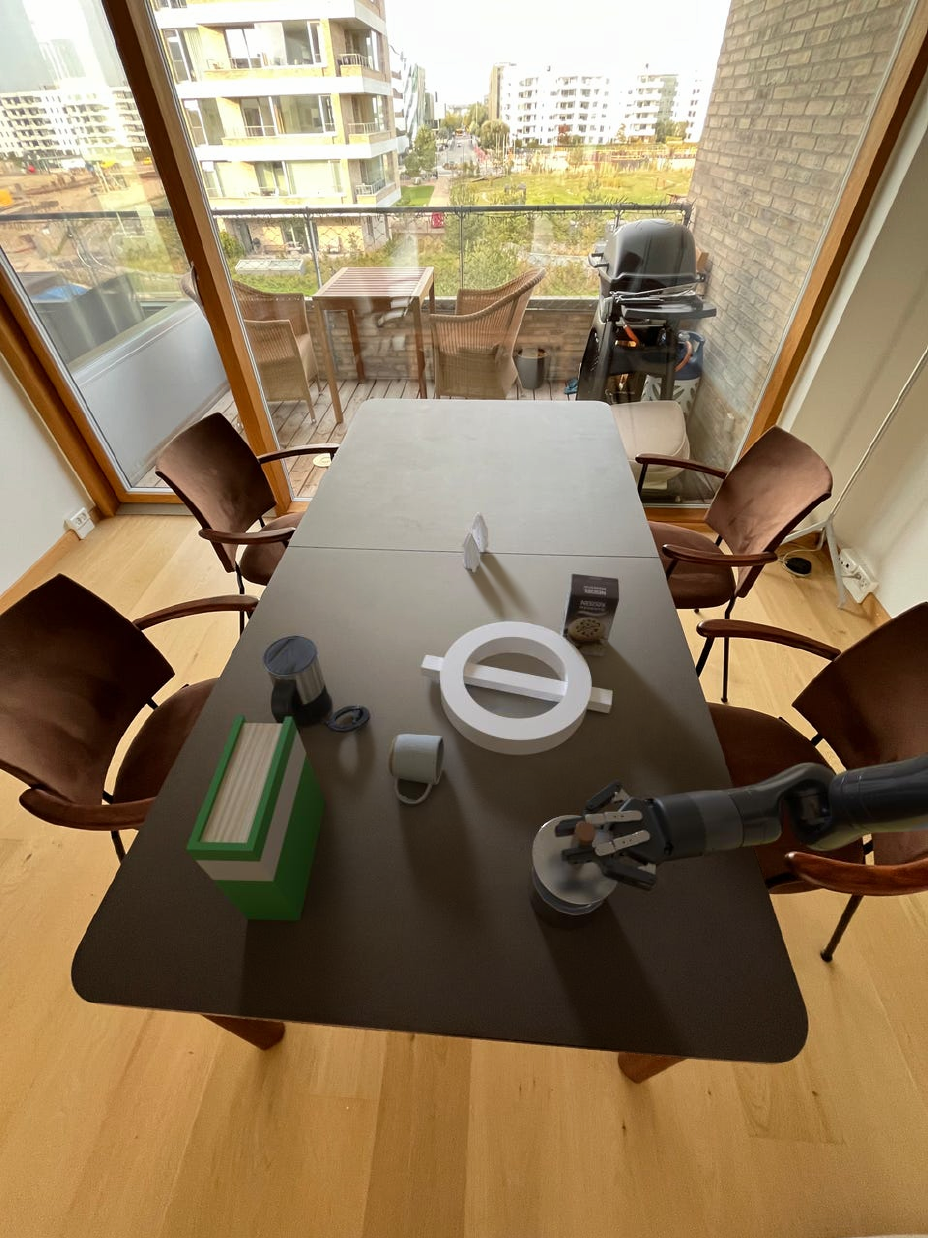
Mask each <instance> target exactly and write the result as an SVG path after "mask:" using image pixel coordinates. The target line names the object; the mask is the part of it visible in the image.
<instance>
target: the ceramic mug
mask: <svg viewBox="0 0 928 1238" xmlns="http://www.w3.org/2000/svg"><path fill="white" fill-rule="evenodd" d="M443 738H444V737H442V736H440V735H427V734H412V733H403V734H397V735H396V736H395V737H394V738H393V740H392V742H391V745H390V750H389V755H388V770H389V773H390V775H391V776H392V777H394V783H393V784H394V792H395V795H396V796H397V798H398V799H399V800H400V801H401V802H402V803H405V804H408V805H418V804H421V803H422V802H424V801H425V800H426V799H427V797H428V796H429V794H430V792H431V790H432V787H433V785H438V784H439V782H440V779H441V775H442V772H443V764H444V755H445V743H444V739H443ZM400 780H404V781H412V782H417V783H422V784H427V788H426V790H425V792H424V793H423V795H422V796H420V797H419V798H418V799H411V798H408V797H407V796H406V795H402V794H401V793H400V790H399V781H400Z"/></svg>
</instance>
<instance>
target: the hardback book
mask: <svg viewBox="0 0 928 1238" xmlns="http://www.w3.org/2000/svg"><path fill="white" fill-rule="evenodd" d="M303 743H304V742H303V741H302V739H301V735H300V736H299V733H298V730H297V728H296V725H295V723H294V720H293V717H285V719H284V722H283V724H277V723H273V722H272V723H269V722H268V723H267V722H266V723H265V722H247V720H246V718H245V716H244V715H236V716H235V719H234V721H233V724H232V726H231V729H230V732H229V734H228V737H227V740H226V742H225V745H224V748H223V750H222V753H221V755H220V759H219V760H218V763H217V766H216V768H215V772H214V774H213V777H212V779H211V782H210V785H209V787H208V789H207V793H206V795H205V798H204V801H203V803H202V806H201V809H200V810H199V813H198V815H197V819H196V821H195V824H194V826H193V830H192V832H191V835H190V837H189V839H188V841H187V845H186V847H185V850H186V852H187V853H188V854H189V855H190V856H191V857H192V858H193V860H194V861H195V862H196V863H197V864H198V865H199V867H200V868H202V870H203V871H204V872H205V874H207V876H208V877H210V879H211V880H212V881H213V882H214V883H215V885H216V886H217V887H218V888H219V889H220V890H221V891H222V892H223V893H224V895H226V897H227V898H228V899H229V900H230V901H231V903H232V904H233V905H234V906H235V908H237V910H239V912H240V913H241V914H242V915H243V917H245V918H246V920H256V921H257V920H259V921H296V922H297V921H298V922H299V921H301V917H302V913H303V908H304V902H305V899H306V894H307V890H308V889H307V888H308V883H309V881H310V874H311V870H312V867H313V862H314V856H315V852H316V847H317V842H318V837H319V833H320V828H321V823H322V818H323V815H324V814H323V813H324V809H325V805H326V801H325V798H324V795H323V793H322V790H321V788H320V784H319V783H318V780H317V778H316V774H315V772H314V770H313V767H312V764H311V761H310V759H309V757H308V754H307V751H306V749H305V746H304V744H303Z"/></svg>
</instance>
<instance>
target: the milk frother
mask: <svg viewBox="0 0 928 1238" xmlns="http://www.w3.org/2000/svg"><path fill="white" fill-rule="evenodd" d="M261 660H262V661H261V662H262V663H261V664H262V666H263V668H264V669H265V670H266V672H267V673H268V675H269V679H270V681H271V684H272V686H273V688H272V692H271V696H270V709H271V714H272V716H273V718H274V720H275V722H276V724H283V722H284V719H285V717H293V720H294V723H295V725H296V728H297V730H298V733H299V736H300V737H301V733H302V732H301V728H309V727H313V726H316V725H318V724H319V723H322V724H323V726H325V727H326V728H327V729H328V730H329V731H330V732H332V733H335V734H348V733H352V732H355V731H357V730H359V729H360V728H361V729H362V727H364V726H365V725H366V724H367V723H368V722H369V720H370V719H371V712H370V710H369V709H368V708H367V707H366V706H363V705H361V704H358V705H357V704H356V705H349V706H344V707H343V708H341V709H339V710H337V711H335V712H334V713H332V715H331V716H330V718H329V720H328V721H327V720H326V718H327V717H328V715H329V714H330V712H331V711H332V708H333V707H332V706H333V700H332V696H331V695H330V694H329V692H328V689H327V685H326V683H325V679H324V676H323V671H322V668H321V665H320V661H319V657H318V647H317V645H316V644H315V642H313V640H312V639H310V638H307V637H305V636H302V635H289V636H285V637H282V638H278V639H277V640H275V641H274V642H272V643H271V644H270V645H269V646H268V647H267V648H266V649H265V651H264V653H263V655H262V658H261ZM347 713H352V717H351V724H348V725H343V726H342V725H338V724H336V722H337V720H338V719H339V718H341V716H343V715H345V714H347Z"/></svg>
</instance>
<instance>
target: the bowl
mask: <svg viewBox="0 0 928 1238" xmlns="http://www.w3.org/2000/svg"><path fill="white" fill-rule="evenodd" d="M527 889H528V890H527V892H528V898H529V901H530V903H531V906H532V908H533V910H534V912H535V913H536V914H537V916H539V918H540V919H541V920H542V921H543V922H544V923H546V924H547V925H548V926H551V927H552V928H554V929H557V930H561V931H571V932H572V931H576V930H581V929H582V928H585V927H587V926H588V925H589V924H591V922H592V921H594V919H595V918H596V916H597V914H598V912H599V911H600V909H601V907H602V905H603V903H604V901H605V899H604V900H602V901H600V902H598V903H596V904H592V905H586V906H578V905H572V904H568V903H565V902H563V901H561V900H559V899H557V898H556V897H554V896H553V895H552V894H551V893H549V892H548V891H547V890H546V889H545V888H544V886H543V885H542V884H541V882H540V881H539V879H538V877H537V875H536V873H535V870H534V867H533V862H532V864H531V868H530V873H529V878H528V884H527Z"/></svg>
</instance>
